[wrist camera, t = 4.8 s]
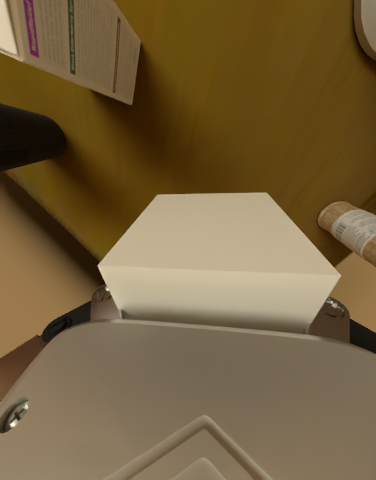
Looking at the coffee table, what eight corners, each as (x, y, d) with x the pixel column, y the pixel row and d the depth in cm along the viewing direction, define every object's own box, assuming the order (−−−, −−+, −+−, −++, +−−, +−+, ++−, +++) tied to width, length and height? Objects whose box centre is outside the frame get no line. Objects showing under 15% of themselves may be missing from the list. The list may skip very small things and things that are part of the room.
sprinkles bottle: (340, 230, 26) (449, 304, 14) (310, 226, 26) (394, 297, 14) (358, 201, 23) (509, 262, 12) (325, 198, 23) (442, 254, 12)
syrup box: (143, 39, 17) (-26, -232, 5) (133, 109, 20) (16, 59, 8) (86, 12, 16) (-288, -390, 4) (85, 88, 19) (-127, -2, 7)
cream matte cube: (266, 192, 11) (340, 275, 5) (249, 274, 15) (277, 377, 9) (157, 194, 12) (97, 265, 6) (169, 270, 16) (142, 361, 10)
